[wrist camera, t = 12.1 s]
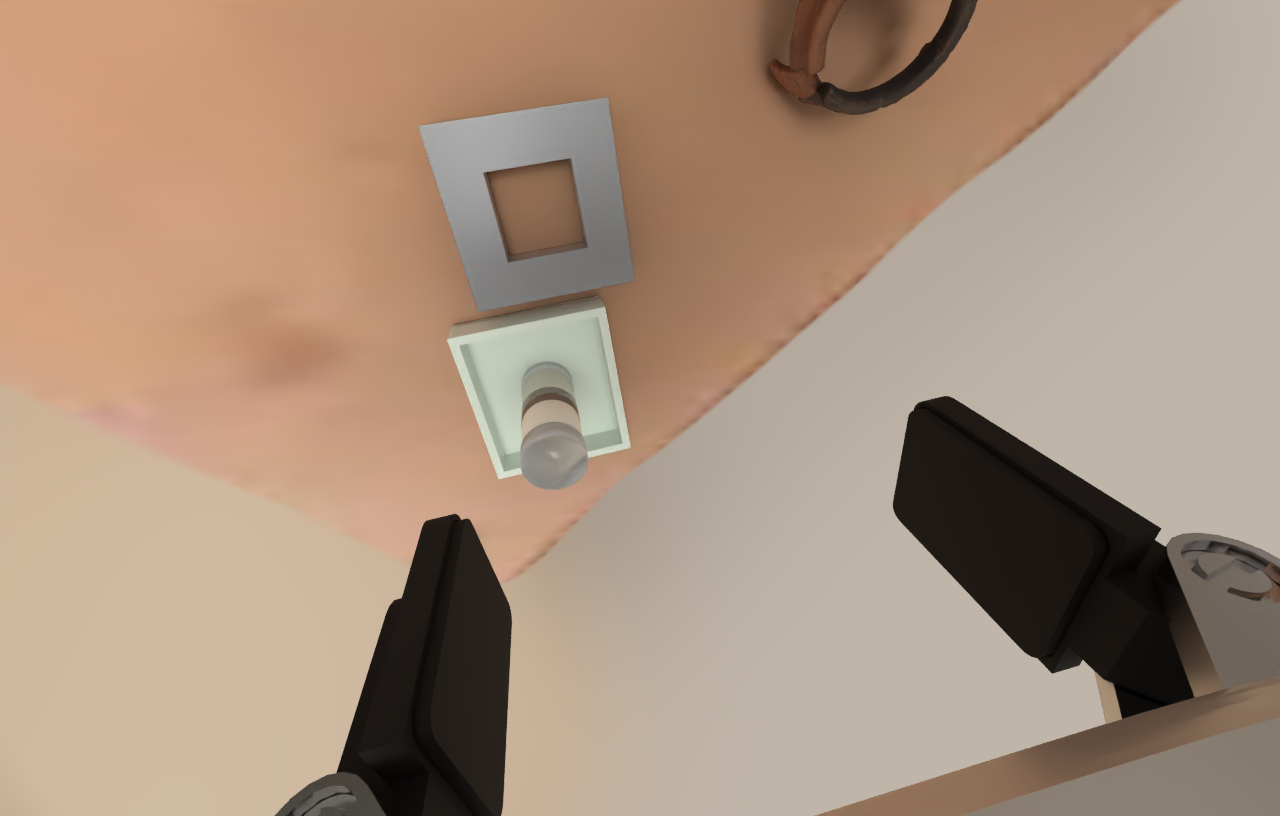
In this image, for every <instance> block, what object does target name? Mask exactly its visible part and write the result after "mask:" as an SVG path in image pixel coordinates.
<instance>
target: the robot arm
mask: <svg viewBox="0 0 1280 816" xmlns="http://www.w3.org/2000/svg"><path fill="white" fill-rule="evenodd" d="M893 509H894V512H895V514H896V516H897V518H898V519H899V520H900V521H901V523H902V524H903V525H904V526H905V527H906V528H907V529H908V530H909V531H910V532H911V533H912V534H913V535H914V536H915V537H916V539H918V541H919V542H920V543H921V544H922V545H923V546H924V547H925V548H926V549H927V550H928V551H929V552H930V553H931V554H932V555H933V556H934V558H935V559H936V560H937V561H938V562H939V563H940V564H941V565H942V566H943V567H944V568H945V569H946V570H947V571H948V572H949V573H950V574H951V575H952V576H953V578H954V579H955V580H956V581H958V583H959V584H960V585H961V586H962V587H963V588H964V589H965V590H966V591H967V592H968V593H969V594H970V595H971V596H972V597H973V599H974V600H975V601H976V602H977V603H978V604H979V605H980V606H981V607H982V608H983V609H984V610H985V611H986V612H987V613H988V614H989V616H990V617H991V618H992V619H993V620H994V621H995V622H996V623H997V624H998V625H999V626H1000V627H1001V628H1002V629H1003V630H1004V631H1005V632H1006V633H1007V635H1008V636H1010V638H1011V639H1012V640H1013V641H1014V642H1015V643H1016V644H1017V645H1018V646H1019V647H1020V648H1021V649H1022V650H1023V651H1024V652H1025V653H1026V654H1028V655H1030V656H1031V657H1035V658H1038V659H1039V660H1040V661H1041V662H1042V663H1043V664H1044V665H1045V667H1046V668H1048V670H1049V671H1050V672H1051V673H1056V672H1059V671H1062V670H1066V669H1069V668H1072V667H1075V666H1078V665H1080V663H1081V661H1082V660H1084V661H1085V662H1086V663H1087V664H1088V665H1089V666H1090V667H1091V668H1092V669H1093V670H1094V671H1095V676H1096V680H1097V685H1098V689H1099V694H1100V699H1101V703H1102V707H1103V712H1104V717H1105V721H1106V724H1105V725H1101V726H1098V727H1095V728H1092V729H1089V730H1085V731H1082V732H1079V733H1076V734H1072V735H1069V736H1066V737H1063V738H1060V739H1056V740H1053V741H1050V742H1047V743H1044V744H1040V745H1037V746H1034V747H1031V748H1028V749H1024V750H1021V751H1018V752H1015V753H1011V754H1008V755H1005V756H1002V757H999V758H995V759H992V760H990V761H986V762H983V763H980V764H977V765H973V766H970V767H967V768H964V769H961V770H958V771H954V772H951V773H948V774H945V775H942V776H939V777H936V778H932V779H929V780H926V781H923V782H920V783H916V784H913V785H910V786H907V787H904V788H901V789H898V790H895V791H891V792H888V793H885V794H882V795H879V796H876V797H873V798H869V799H866V800H863V801H860V802H857V803H854V804H850V805H847V806H844V807H841V808H838V809H835V810H832V811H829V812H825V813H822V814H819V815H816V816H1280V559H1279V558H1277V557H1275V556H1273V555H1271V554H1269V553H1267V552H1265V551H1264V550H1262V549H1259V548H1257V547H1254V546H1252V545H1249V544H1246V543H1244V542H1241V541H1238V540H1234V539H1231V538H1227V537H1223V536H1219V535H1213V534H1203V533H1189V534H1181V535H1178V536H1176V537H1173V538H1172V539H1171V540H1170V541H1169V543H1168V544H1167V546H1166V547H1165V546H1163V545H1162V544H1160V543H1159V542H1157V541H1155V538H1156V537H1157V535H1158V533H1159V532H1160V530H1161V528H1160V527H1158V526H1156V525H1155V524H1153V523H1152V522H1150V521H1148V520H1147V519H1145V518H1144V517H1142V516H1140V515H1139V514H1137V513H1136V512H1134V511H1132V510H1131V509H1129V508H1128V507H1126V506H1124V505H1123V504H1121V503H1120V502H1118V501H1117V500H1115V499H1113V498H1112V497H1110V496H1109V495H1107V494H1105V493H1104V492H1102V491H1101V490H1099V489H1097V488H1096V487H1094V486H1092V485H1091V484H1089V483H1088V482H1086V481H1084V480H1083V479H1081V478H1080V477H1078V476H1077V475H1075V474H1073V473H1072V472H1070V471H1069V470H1067V469H1065V468H1064V467H1062V466H1061V465H1059V464H1057V463H1056V462H1054V461H1053V460H1051V459H1049V458H1048V457H1046V456H1045V455H1043V454H1041V453H1040V452H1038V451H1037V450H1035V449H1034V448H1032V447H1030V446H1029V445H1027V444H1026V443H1024V442H1022V441H1021V440H1019V439H1018V438H1016V437H1014V436H1013V435H1011V434H1010V433H1008V432H1006V431H1005V430H1003V429H1002V428H1000V427H998V426H997V425H995V424H994V423H992V422H990V421H989V420H987V419H986V418H984V417H982V416H981V415H979V414H978V413H976V412H975V411H973V410H971V409H970V408H968V407H967V406H965V405H963V404H962V403H960V402H958V401H957V400H955V399H954V398H951V397H948V396H944V397H939V398H935V399H931V400H927V401H923V402H920V403H918V404H917V405H916V406H915V408H914V411H912V412H911V413H910V414H909V417H908V422H907V428H906V433H905V439H904V445H903V450H902V456H901V461H900V467H899V472H898V479H897V484H896V490H895V495H894V501H893ZM511 627H512V617H511V610H510V606H509V603H508V601H507V598H506V596H505V594H504V592H503V590H502V588H501V585H500V583H499V581H498V579H497V577H496V575H495V572H494V570H493V568H492V566H491V564H490V562H489V559H488V557H487V555H486V553H485V551H484V549H483V546H482V544H481V542H480V540H479V538H478V536H477V533H476V531H475V529H474V527H473V525H472V523H471V521H470V520H469V519H463V520H461V519H460V517H459V516H458V515H457V514H452V515H448V516H444V517H440V518H436V519H432V520H427V521H426V522H425V523H424V525H423V527H422V530H421V534H420V537H419V541H418V544H417V548H416V551H415V555H414V558H413V561H412V565H411V568H410V572H409V575H408V579H407V582H406V586H405V590H404V593H403V596H402V598H401V599H397V600H394V601H393V603H392V604H391V605H390V606H389V608H388V611H387V613H386V616H385V619H384V622H383V626H382V629H381V632H380V635H379V638H378V642H377V645H376V648H375V651H374V655H373V658H372V661H371V664H370V667H369V670H368V674H367V677H366V680H365V683H364V686H363V690H362V693H361V696H360V699H359V703H358V706H357V709H356V712H355V716H354V719H353V722H352V725H351V728H350V731H349V735H348V738H347V741H346V744H345V748H344V751H343V754H342V757H341V761H340V763H339V767H338V770H337V773H336V774H330V775H326V776H324V777H322V778H320V779H318V780H316V781H315V782H312V783H310V784H309V785H307V786H306V787H305V788H303V789H302V790H301V791H300V792H298V793H297V794H296V795H295V796H293V797H292V798H291V799H290V800H289V801H288V802H287V803H286V804H285V805H284V806H283V807H282V808H281V810H280V811H279V812H278V813H277V814H276V815H275V816H501V813H502V807H503V793H504V773H505V752H506V730H507V710H508V690H509V689H508V687H509V669H510V648H511Z"/></svg>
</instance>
